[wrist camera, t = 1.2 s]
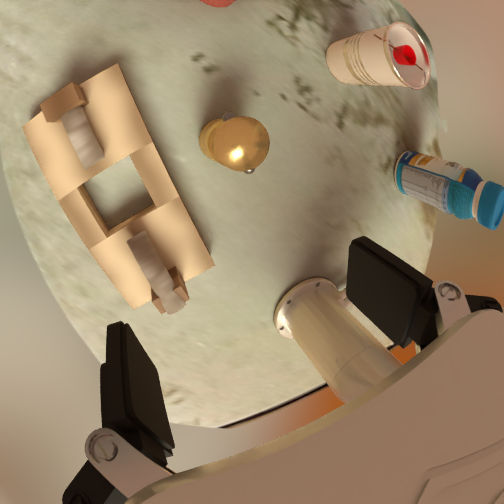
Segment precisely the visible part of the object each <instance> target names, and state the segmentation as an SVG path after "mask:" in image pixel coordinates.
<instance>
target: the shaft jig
mask: <svg viewBox="0 0 504 504" xmlns="http://www.w3.org/2000/svg"><path fill="white" fill-rule="evenodd" d="M40 107H41V110H42V111H41V112H40V113H39V114H37V115H36V116H35V117H34V118H32V119H31V120H30V121H29V122H28V123H26V124H25V125H24V126H23V127H22V128H23V130H24V133H25V135H26V138H27V140H28V142H29V144H30V147H31V149H32V151H33V153H34V156H35V158H36V160H37V162H38V164H39V166H40V168H41V170H42V172H43V174H44V176H45V178H46V180H47V182H48V184H49V186H50V187H51V189H52V191H53V193H54V195H55V196H56V198H57V200H58V202H59V204H60V205H61V207H62V209H63V210H64V212H65V214H66V215H67V217H68V219H69V220H70V222H71V224H72V225H73V227H74V228H75V230H76V232H77V233H78V235H79V236H80V238H81V239H82V241H83V242H84V244H85V245H86V247H87V248H88V250H89V251H90V253H91V254H92V256H93V257H94V258H95V260H96V261H97V263H98V264H99V265H100V267H101V268H102V270H103V271H104V272H105V274H106V275H107V276H108V278H109V279H110V280H111V282H112V283H113V284H114V286H115V287H116V288H117V290H118V291H119V292H120V293H121V295H122V296H123V297H124V298H125V300H126V301H127V302H128V303H129V305H130V306H131V307H132V308H133V309H135V308H137V307H139V306H141V305H143V304H145V303H146V302H148V301H150V300H152V302H153V304H154V305H155V306H156V307H157V309H158V310H159V311H160V313H161V314H163V313H164V312H167V313H168V314H173V313H175V312H177V311H179V310H180V309H182V308H183V307H184V306H185V305H186V302H185V301H187V300H189V296H188V292H187V289H186V286H185V281H187V280H189V279H191V278H193V277H194V276H196V275H198V274H200V273H202V272H204V271H205V270H207V269H209V268H211V267H213V266H215V264H214V262H213V260H212V258H211V256H210V254H209V252H208V250H207V248H206V247H205V245H204V243H203V241H202V239H201V237H200V235H199V233H198V231H197V229H196V228H195V226H194V224H193V222H192V220H191V218H190V216H189V214H188V212H187V210H186V208H185V206H184V204H183V202H182V200H181V198H180V196H179V194H178V192H177V190H176V188H175V186H174V184H173V182H172V180H171V178H170V176H169V174H168V172H167V170H166V168H165V166H164V164H163V162H162V160H161V158H160V156H159V154H158V151H157V149H156V147H155V145H154V143H153V141H152V139H151V137H150V134H149V132H148V130H147V128H146V126H145V124H144V122H143V119H142V117H141V115H140V113H139V111H138V108H137V106H136V104H135V102H134V99H133V97H132V95H131V93H130V90H129V88H128V86H127V83H126V81H125V79H124V76H123V74H122V72H121V69H120V67H119V65H118V63H117V64H115V65H113V66H111V67H110V68H108V69H106V70H104V71H102V72H100V73H99V74H97V75H95V76H93V77H92V78H90V79H88V80H87V81H85V82H83V83H82V84H80V85H77V84H75V83H73V82H71V83H70V84H68V85H67V86H65V87H64V88H62V89H61V90H59V91H58V92H57V93H55V94H54V95H52V96H51V97H50V98H48V99H47V100H45V101H44V102H43V103H42V104H40ZM128 155H130V157H131V159H132V161H133V163H134V165H135V167H136V169H137V171H138V173H139V175H140V177H141V179H142V181H143V183H144V185H145V187H146V189H147V190H148V192H149V194H150V196H151V198H152V200H153V202H154V204H153V205H151V206H149V207H147V208H146V209H144V210H142V211H140V212H139V213H137V214H135V215H133V216H132V217H130V218H128V219H127V220H125V221H123V222H122V223H120V224H118V225H117V226H115V227H113V228H112V229H110V230H109V228H108V227H107V225H106V224H105V222H104V220H103V219H102V217H101V215H100V214H99V212H98V210H97V209H96V207H95V205H94V203H93V202H92V200H91V198H90V196H89V195H88V193H87V191H86V189H85V187H84V186H83V183H84V182H86V181H87V180H89V179H90V178H92V177H93V176H95V175H97V174H98V173H100V172H101V171H103V170H104V169H106V168H108V167H109V166H111V165H113V164H114V163H116V162H118V161H119V160H121V159H123V158H124V157H126V156H128Z"/></svg>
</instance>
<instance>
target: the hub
mask: <svg viewBox="0 0 504 504" xmlns="http://www.w3.org/2000/svg"><path fill="white" fill-rule="evenodd" d="M199 145H200V148H201V150H202V152H203V153H204V154H205V155H206V156H207V157H208V158H210V159H212V160H214V161H216V162H218V163H220V164H222V165H224V166H226V167H228V168H230V169H232V170H235V171H244V172H245V173H246V174H251V173H253V172H254V171H255V168H256V167H257V166H259V165H260V164H261V163H262V162H263V161H264V159H265V158H266V156H267V154H268V151H269V145H270V140H269V135H268V132H267V130H266V129H265V127H264V126H263V125H262V124H261V123H260V122H259V121H258V120H256V119H254V118H251V117H245V116H241V117H236V116H235V114H234V113H233V112H231V111H228V112H225V113H224V114H223V116H222V118H221V119H215V120H212V121H210V122H209V123H207V124H206V125H205V126H204V127H203V129H202V130H201V132H200V136H199Z"/></svg>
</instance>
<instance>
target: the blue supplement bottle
mask: <svg viewBox="0 0 504 504" xmlns="http://www.w3.org/2000/svg"><path fill="white" fill-rule="evenodd" d="M394 179H395V184H396V186H397V188H398V190H399V191H400V192H402V193H403V194H406V195H409V196H411V197H414V198H416V199H419V200H421V201H423V202H425V203H428V204H430V205H432V206H434V207H436V208H438V209H440V210H442V211H443V212H445V213H448V214H454V215H455V216H456V217H457V218H460V219H472V218H475V217H476V220H477V221H478V222H479V223H480V224H482V225H483V226H485V227H487V228H489V229H492V230H495V229H496V228H497V227H498V225H499V223H500V221H501V219H502V216H503V213H504V187H502V186H501V185H499V184H496V183H494V182H491V181H486V182H485V183H484V181H483V180H482V178H481V177H480V176H479V175H478V174H477V173H476V172H475V171H474V170H472V169H470V168H465V169H464V168H463V167H462V166H461V165H460V164H458V163H455V162H449V161H446V160H442V159H439V158H435V157H432V156H428V155H424V154H420V153H417V152H414V151H406V152H404V153H403V154H402V155H401V156H400V157H399V159H398V161H397V163H396V166H395V172H394Z"/></svg>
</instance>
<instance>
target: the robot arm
mask: <svg viewBox="0 0 504 504" xmlns="http://www.w3.org/2000/svg"><path fill="white" fill-rule="evenodd" d="M432 284H433V281H432V280H431V279H429V278H428V277H426V276H425V275H423V274H422V273H421V272H419V271H418V270H416V269H415V268H413V267H412V266H410V265H409V264H407V263H406V262H404V261H403V260H401V259H400V258H398V257H397V256H395V255H394V254H392V253H391V252H389V251H388V250H386V249H385V248H383V247H382V246H380V245H378V244H377V243H375V242H374V241H372V240H370V239H369V238H367V237H365V236H362V237H359V238H357V239H354V240H352V242H351V245H350V246H349V257H348V271H347V283H346V288H344V289H343V290H342V291H338V290H337V288H336V286H335V285H334V284H333V283H332V282H331V281H329V280H327V279H325V278H312V279H308V280H305V281H303V282H301V283H299V284H298V285H296V286H295V287H293V288H292V289H291V290H290V291H289V292H288V293H287V294H286V295H285V296H284V297H283V298H282V300H281V301H280V302H279V304H278V306H277V308H276V311H275V315H274V325H275V327H276V329H277V331H278V332H279V333H280V334H281V335H282V336H283V337H285V338H288V339H295V340H296V341H297V343H298V344H299V346H300V347H301V348H302V350H303V351H304V352H305V354H306V355H307V357H308V358H309V359H310V361H311V362H312V363H313V365H314V366H315V368H316V369H317V370H318V372H319V373H320V374H321V376H322V377H323V378H324V380H325V381H326V383H327V384H328V385H329V387H330V388H331V389H332V391H333V392H334V393H335V395H336V396H337V397H338V398H339V399H340V400H341V401H343V402H344V403H346V404H344V405H342V406H341V407H339V408H337V409H335V410H334V411H332V412H330V413H328V414H327V415H325V416H323V417H321V418H319V419H317V420H315V421H313V422H311V423H309V424H307V425H305V426H303V427H301V428H299V429H297V430H295V431H293V432H291V433H289V434H286V435H284V436H282V437H280V438H277V439H275V440H273V441H270V442H268V443H265V444H263V445H261V446H258V447H255V448H253V449H250V450H247V451H245V452H242V453H239V454H236V455H234V456H231V457H228V458H225V459H222V460H219V461H216V462H213V463H209V464H206V465H203V466H199V467H196V468H193V469H190V470H187V471H183V472H180V473H176V472H174V471H173V470H171V469H170V468H168V467H167V466H166V465H167V464H168V463H167V460H166V457H170V456H173V453H172V450H171V449H173V448H175V444H174V440H173V437H172V433H171V429H170V425H169V421H168V417H167V413H166V409H165V404H164V400H163V395H162V390H161V386H160V381H159V375H158V372H157V369H156V367H155V365H154V364H153V362H152V361H151V359H150V358H149V356H148V355H147V353H146V352H145V350H144V349H143V347H142V345H141V344H140V342H139V341H138V339H137V337H136V336H135V334H134V332H133V331H132V329H131V327H130V326H129V324H128V323H126V324H124V323H123V322H122V321H119V322H116V323H113V324H110V325H108V326H107V338H106V363H103V364H102V365H101V368H100V389H101V390H100V393H101V415H102V416H101V417H102V428H99V429H97V430H94V431H93V432H92V433H91V434H90V435H89V436H88V438H87V440H86V443H85V453H86V457H87V458H88V460H87V462H86V463H85V465H84V466H83V467H82V468H81V470H80V471H79V472H78V474H77V475H76V476H75V478H74V479H73V480H72V482H71V483H70V485H69V486H68V487H67V489H66V490H65V492H64V494H63V498H62V501H63V504H504V307H501V305H500V304H499V303H498V302H497V300H496V299H494V298H491V297H485V296H474V295H464V292H463V290H462V289H461V288H460V287H459V286H458V285H457V284H455V283H453V282H450V281H440V282H438V283H437V284H436V285H435V288H432ZM346 296H347V297H346ZM344 297H345V298H344ZM352 304H354V305H355V306H356V307H357V308H358V309H359V310H360V311H361V312H362V313H363V314H364V315H365V316H366V317H368V318H369V319H370V320H371V321H372V322H373V323H374V324H375V325H376V326H377V327H378V328H379V329H380V330H381V331H382V332H383V333H384V334H385V335H386V336H387V337H388V338H389V339H390V340H391V341H393V342H394V343H395V344H396V345H400V346H401V347H402V348H405V347H406V346H408V345H409V344H410V343H411V342H412V340H413V341H414V342H415V345H416V356H415V357H413V358H412V359H411V360H409V361H408V362H407V363H405V364H404V365H403V364H401V362H399V361H398V360H397V359H396V358H395V357H394V356H393V355H392V354H391V353H390V352H389V351H388V350H387V349H386V348H385V347H384V346H383V345H382V344H381V343H380V342H379V341H378V340H377V339H376V338H375V337H374V336H373V335H372V334H371V333H370V332H369V331H368V330H367V329H366V328H365V327H364V326H363V325H362V324H361V323H360V322H359V321H358V320H357V319H356V318H355V317H354V316H353V315H352V314H351V313H350V312H349V311H348V307H349V306H350V305H352Z"/></svg>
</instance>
